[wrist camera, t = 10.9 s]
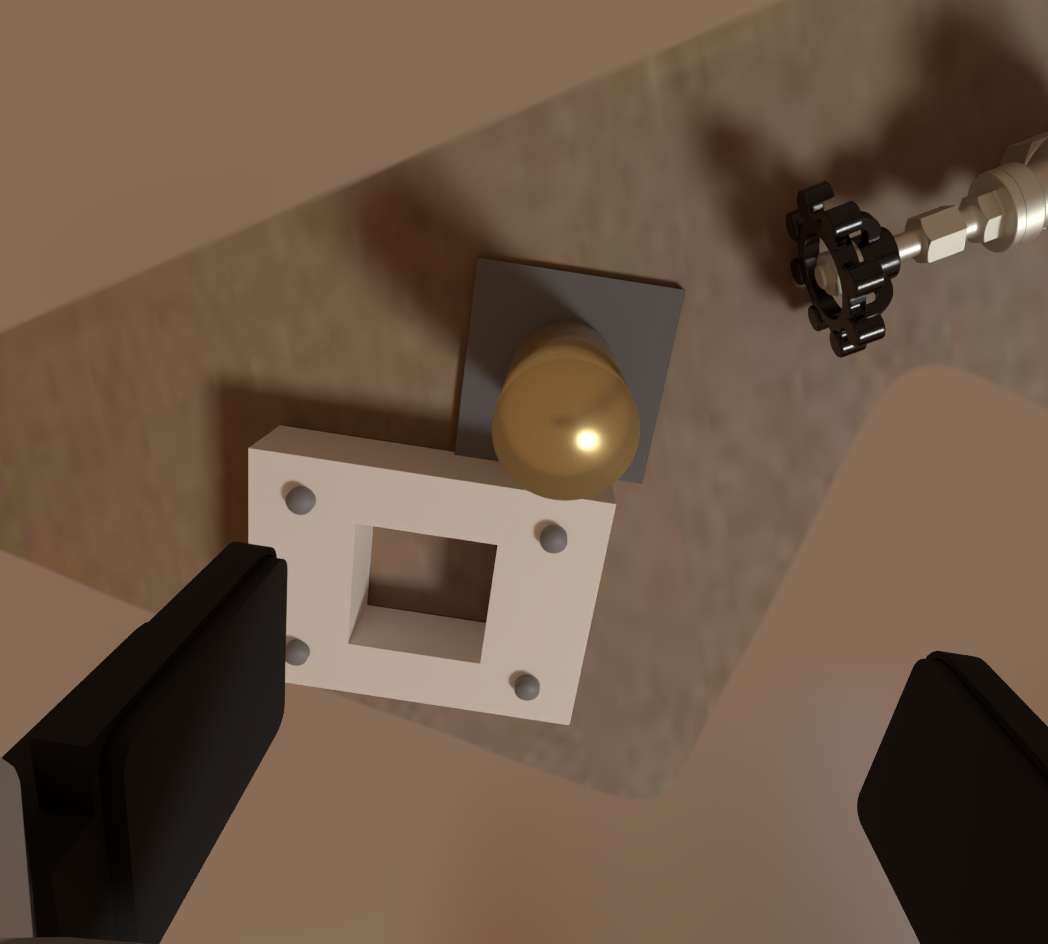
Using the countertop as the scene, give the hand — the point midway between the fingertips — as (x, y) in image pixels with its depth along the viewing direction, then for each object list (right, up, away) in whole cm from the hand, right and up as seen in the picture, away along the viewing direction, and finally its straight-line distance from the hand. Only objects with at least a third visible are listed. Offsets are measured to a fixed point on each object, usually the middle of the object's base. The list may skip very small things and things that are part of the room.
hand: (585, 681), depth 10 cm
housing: (-6, -1, +24) cm, 25 cm away
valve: (+16, +14, +18) cm, 28 cm away
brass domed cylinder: (+1, +8, +20) cm, 22 cm away
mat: (+1, +8, +21) cm, 22 cm away
